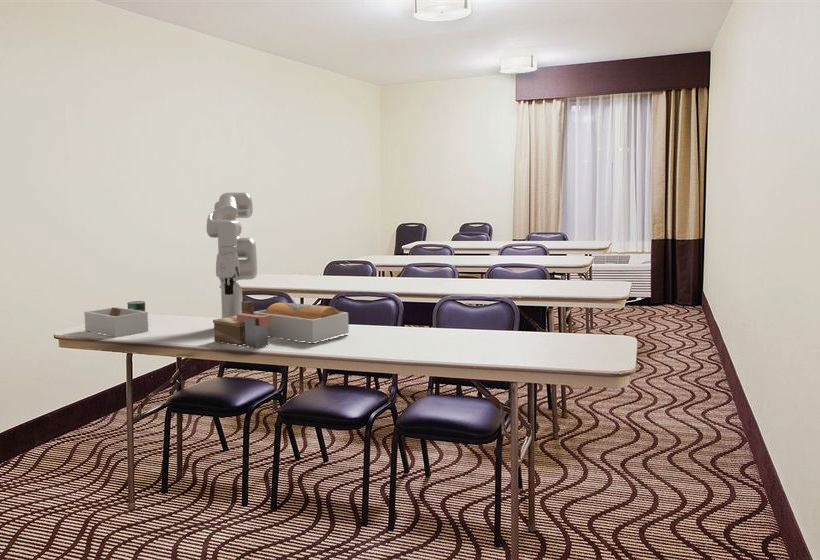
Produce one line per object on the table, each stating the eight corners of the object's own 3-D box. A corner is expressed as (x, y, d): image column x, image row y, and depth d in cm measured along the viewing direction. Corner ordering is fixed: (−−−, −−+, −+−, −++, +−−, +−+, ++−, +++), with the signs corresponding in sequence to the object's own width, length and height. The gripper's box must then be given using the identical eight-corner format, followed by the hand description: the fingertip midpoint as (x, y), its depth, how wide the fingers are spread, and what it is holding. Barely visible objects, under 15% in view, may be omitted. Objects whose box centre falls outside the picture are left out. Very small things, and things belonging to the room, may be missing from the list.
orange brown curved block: (342, 335, 299) (341, 304, 298) (320, 342, 285) (319, 309, 283) (288, 329, 314) (287, 299, 312) (264, 335, 299) (264, 304, 298)
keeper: (258, 343, 281) (257, 315, 279) (268, 345, 277) (267, 316, 276) (245, 346, 275) (244, 317, 274) (255, 348, 272) (255, 319, 270)
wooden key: (243, 321, 282) (243, 311, 282) (270, 325, 273) (270, 315, 273) (235, 322, 279) (235, 313, 278) (262, 326, 270) (262, 317, 269)
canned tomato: (131, 323, 327) (130, 301, 326) (148, 323, 328) (147, 300, 326) (125, 326, 319) (124, 303, 318) (143, 326, 320) (141, 303, 318)
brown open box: (240, 335, 297) (239, 317, 296) (265, 340, 288) (265, 321, 287) (214, 341, 286) (214, 322, 285) (240, 345, 277) (239, 326, 276)
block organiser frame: (117, 325, 320) (116, 307, 319) (148, 331, 307) (147, 312, 306) (85, 331, 307) (84, 311, 306) (115, 337, 294) (114, 317, 293)
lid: (239, 317, 297) (239, 299, 296) (266, 321, 287) (265, 302, 286) (212, 322, 285) (212, 303, 284) (239, 326, 275) (239, 307, 274)
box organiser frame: (289, 326, 319) (289, 305, 318) (348, 335, 299) (348, 312, 298) (252, 334, 300) (252, 312, 299) (312, 344, 280) (312, 320, 279)
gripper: (208, 250, 282) (210, 294, 283) (232, 251, 273) (234, 296, 275) (222, 249, 288) (224, 292, 290) (247, 250, 279) (248, 294, 281)
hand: (229, 294), depth 282 cm, fingers closed
